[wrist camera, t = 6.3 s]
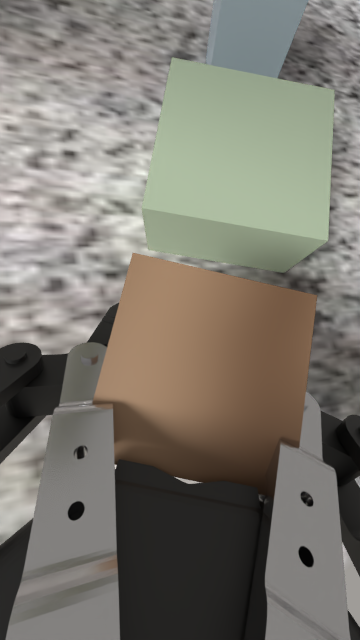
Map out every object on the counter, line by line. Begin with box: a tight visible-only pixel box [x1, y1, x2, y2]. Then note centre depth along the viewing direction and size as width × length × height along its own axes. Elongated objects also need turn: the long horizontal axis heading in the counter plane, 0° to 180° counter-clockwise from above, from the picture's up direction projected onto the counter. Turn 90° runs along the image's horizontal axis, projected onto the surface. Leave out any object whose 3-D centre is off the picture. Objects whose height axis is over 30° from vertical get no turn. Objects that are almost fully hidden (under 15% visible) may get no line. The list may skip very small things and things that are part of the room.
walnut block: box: [92, 253, 317, 495], centre depth 11 cm, size 5×5×10 cm
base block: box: [142, 57, 335, 273], centre depth 16 cm, size 10×10×5 cm
